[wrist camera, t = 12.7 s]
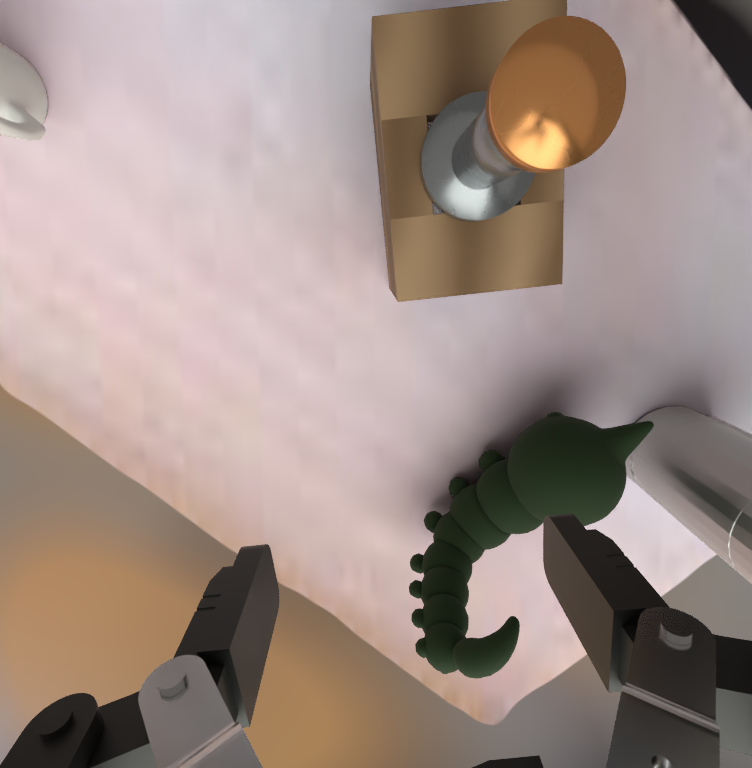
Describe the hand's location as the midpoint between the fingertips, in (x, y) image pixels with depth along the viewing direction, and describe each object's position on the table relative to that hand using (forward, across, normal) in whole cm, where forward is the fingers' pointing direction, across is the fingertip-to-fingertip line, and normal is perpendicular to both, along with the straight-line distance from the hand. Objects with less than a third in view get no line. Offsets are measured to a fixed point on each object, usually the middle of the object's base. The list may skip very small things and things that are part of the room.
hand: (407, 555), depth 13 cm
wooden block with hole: (+30, -7, -13) cm, 34 cm away
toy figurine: (+30, -11, +15) cm, 36 cm away
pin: (+27, -7, -13) cm, 31 cm away
